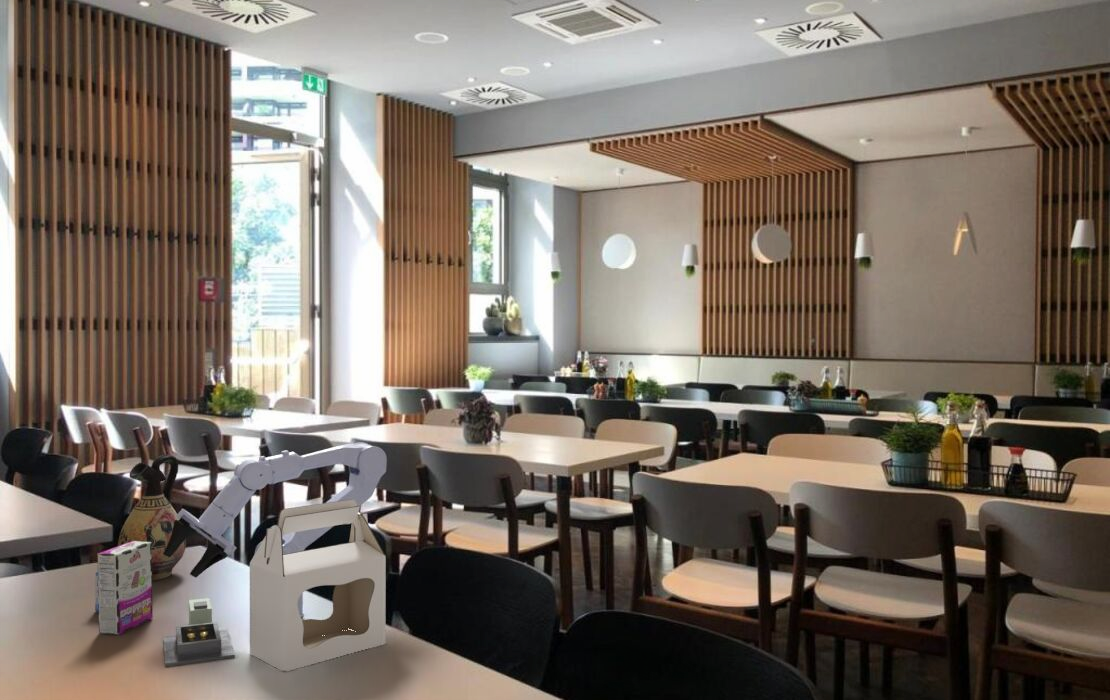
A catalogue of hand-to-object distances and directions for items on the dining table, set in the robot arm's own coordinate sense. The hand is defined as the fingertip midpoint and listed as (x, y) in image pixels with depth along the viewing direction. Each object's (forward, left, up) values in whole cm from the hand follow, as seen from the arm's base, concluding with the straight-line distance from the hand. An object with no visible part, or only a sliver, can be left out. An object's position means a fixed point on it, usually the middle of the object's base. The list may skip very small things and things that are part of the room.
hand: (179, 565), depth 191 cm
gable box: (-24, +23, -13) cm, 36 cm away
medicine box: (+12, -18, -13) cm, 26 cm away
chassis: (-3, +14, -13) cm, 19 cm away
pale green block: (-4, +1, -13) cm, 14 cm away
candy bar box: (+10, -6, -13) cm, 18 cm away
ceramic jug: (+4, -46, -13) cm, 48 cm away
